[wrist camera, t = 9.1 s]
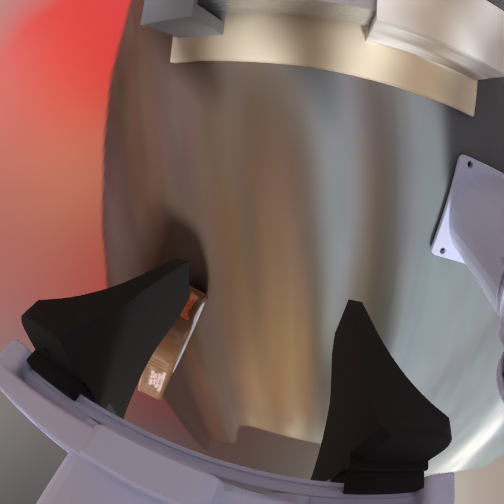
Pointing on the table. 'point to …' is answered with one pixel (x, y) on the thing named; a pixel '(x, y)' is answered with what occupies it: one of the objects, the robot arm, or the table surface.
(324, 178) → the table surface
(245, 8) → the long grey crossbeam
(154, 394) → the tin
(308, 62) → the tube stand
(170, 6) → the socket
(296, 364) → the table surface
